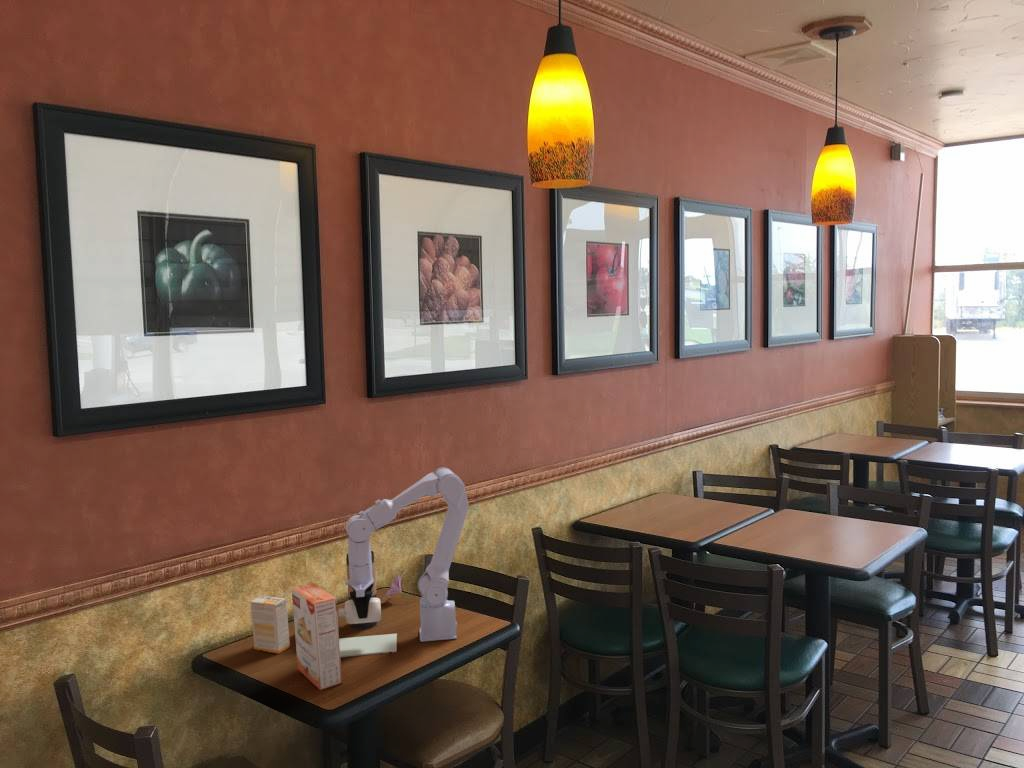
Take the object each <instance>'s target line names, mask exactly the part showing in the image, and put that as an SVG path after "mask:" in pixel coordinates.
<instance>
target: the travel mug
mask: <svg viewBox="0 0 1024 768" xmlns="http://www.w3.org/2000/svg"><path fill="white" fill-rule="evenodd" d="M374 553H375V552H374V551H373V550H371V559H372V575H373V579H374V584H373V587H372V590H371V591H373V593H372V596H371V598H378V596H377V594H378V593H377V581H376V580H377V579H376V567H375V554H374ZM345 558H346V559H345V560H346V576H347V578H346V580H350V572H349V556H348V552H347V553H346V557H345ZM352 591H353V589H352V587H351V585H347V595H348V597H347V598H348V600H351V597H350V592H352ZM350 625H351V626H350V627H352V628H353V629H356V630H367V629H366V628H368V629H371V628H374V627H375V626H376V625H378V621H377V622H369V623H358V624H350ZM373 626H374V627H373ZM370 627H371V628H370Z"/></svg>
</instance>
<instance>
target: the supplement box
mask: <svg viewBox="0 0 1024 768" xmlns="http://www.w3.org/2000/svg"><path fill="white" fill-rule="evenodd" d="M249 603H250V611H251V612H250V613H251V625H252V636H253V637H252V639H253V649H254V650H255V649H257V650H256V651H260V650H263V651H262V652H266V651H267V652H268V653H272V654H273V653H274V654H277V655H278V654H280V653H282V652H284V651H286V650H287V649H289V648H290V647H291V642H290V632H289V631H290V630H289V620H288V619H289V618H288V608H287V607H288V605H287V604H288V603H287V598H282V597H276V596H268V595H260V596H258V597H256V598H254V599H253V600H250V602H249Z"/></svg>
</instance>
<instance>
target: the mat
mask: <svg viewBox="0 0 1024 768" xmlns="http://www.w3.org/2000/svg"><path fill="white" fill-rule="evenodd" d="M397 638H398V633H397V632H396V633H389V634H388V633H387V634H376V635H375V634H373V635H366V636H365V635H363V636H354V637H344V638H340V637H339V646H340V658H347V657H349V658H350V657H357V656H358V657H359V656H370V655H381V653H382V654H390V653H389V652H392V653H397V646H398V645H397V644H398V643H397V641H398V639H397Z"/></svg>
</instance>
